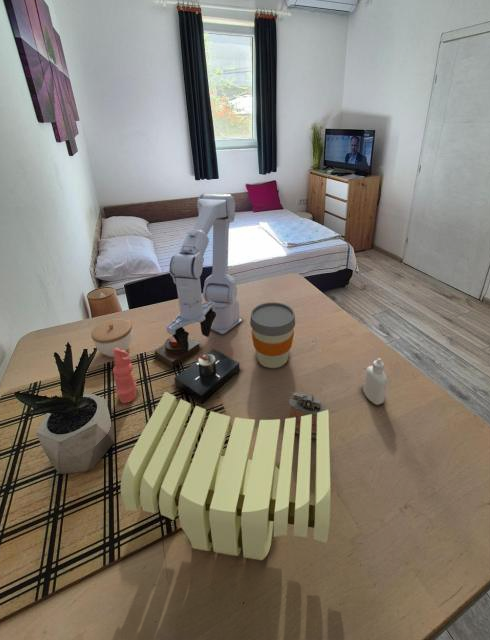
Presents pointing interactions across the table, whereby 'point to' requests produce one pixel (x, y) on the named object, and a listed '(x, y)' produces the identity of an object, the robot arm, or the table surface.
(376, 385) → the eye dropper bottle
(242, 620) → the table surface
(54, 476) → the table surface
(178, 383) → the panel
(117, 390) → the figurine
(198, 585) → the table surface
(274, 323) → the reusable coffee cup
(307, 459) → the slatted curved stool
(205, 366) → the dial
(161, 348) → the button block
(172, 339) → the button
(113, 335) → the trinket box
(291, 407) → the lighter
